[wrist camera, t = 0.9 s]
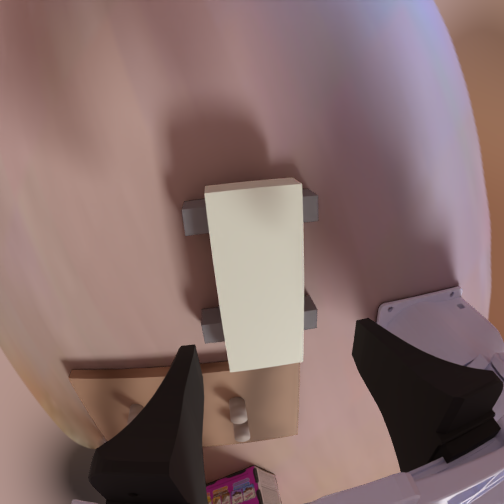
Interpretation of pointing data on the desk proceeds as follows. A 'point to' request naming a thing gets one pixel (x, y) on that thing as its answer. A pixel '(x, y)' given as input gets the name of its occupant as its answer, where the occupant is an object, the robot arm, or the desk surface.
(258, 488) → the candy bar box
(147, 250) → the desk surface
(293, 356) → the shelf board
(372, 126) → the desk surface
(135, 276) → the desk surface
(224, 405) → the peg stand
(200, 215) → the battens
